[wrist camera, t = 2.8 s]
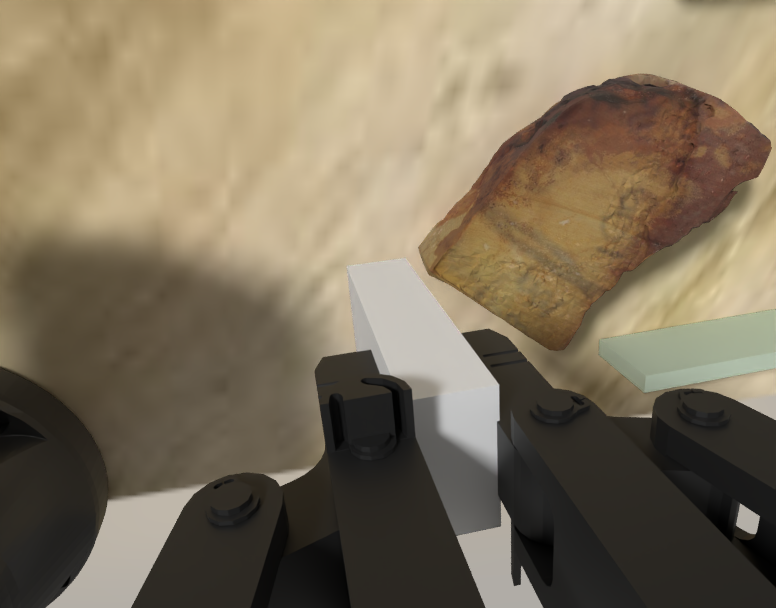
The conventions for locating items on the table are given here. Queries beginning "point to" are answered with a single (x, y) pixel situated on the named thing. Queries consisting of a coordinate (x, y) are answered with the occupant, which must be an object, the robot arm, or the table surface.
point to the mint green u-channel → (694, 351)
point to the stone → (591, 199)
